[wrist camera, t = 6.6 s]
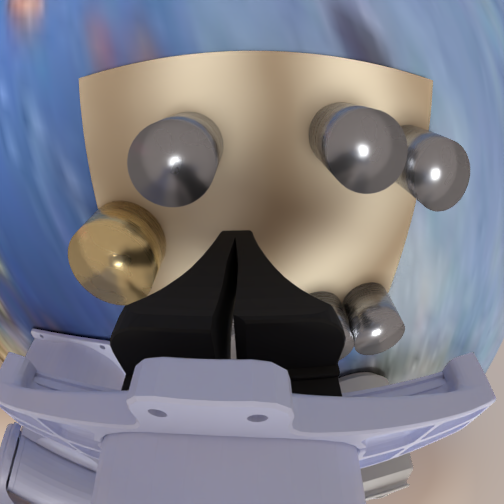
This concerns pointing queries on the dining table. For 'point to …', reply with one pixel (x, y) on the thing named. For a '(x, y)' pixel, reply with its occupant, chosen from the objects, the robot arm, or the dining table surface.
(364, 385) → the can
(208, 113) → the board
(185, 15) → the dining table surface
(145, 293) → the gold dome
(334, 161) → the metal pegs
